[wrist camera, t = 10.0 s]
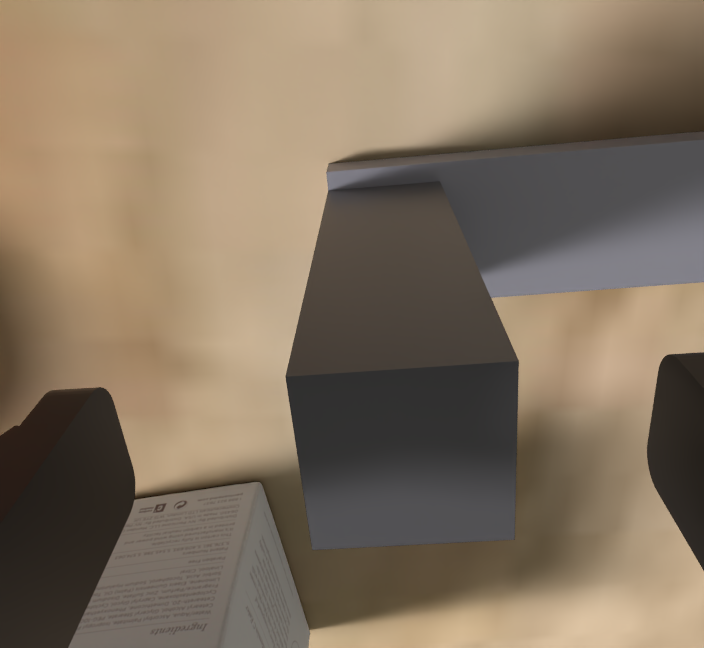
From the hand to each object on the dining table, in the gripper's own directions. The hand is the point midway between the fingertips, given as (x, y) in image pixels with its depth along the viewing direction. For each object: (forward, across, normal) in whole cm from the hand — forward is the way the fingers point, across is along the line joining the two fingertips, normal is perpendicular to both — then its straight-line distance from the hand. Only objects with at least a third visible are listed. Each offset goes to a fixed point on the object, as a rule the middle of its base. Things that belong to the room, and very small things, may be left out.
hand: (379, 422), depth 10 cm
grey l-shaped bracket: (+10, -8, 0) cm, 13 cm away
